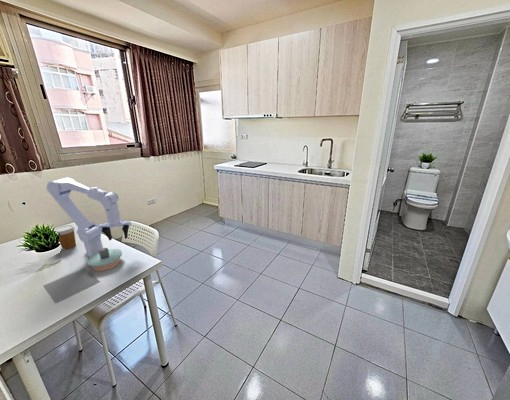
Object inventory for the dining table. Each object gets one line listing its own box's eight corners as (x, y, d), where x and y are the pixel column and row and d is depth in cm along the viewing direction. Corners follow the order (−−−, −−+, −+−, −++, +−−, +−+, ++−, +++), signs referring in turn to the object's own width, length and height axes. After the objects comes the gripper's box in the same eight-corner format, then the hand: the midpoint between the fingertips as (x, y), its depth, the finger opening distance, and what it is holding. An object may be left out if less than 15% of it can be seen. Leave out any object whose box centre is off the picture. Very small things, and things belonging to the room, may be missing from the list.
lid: (82, 259, 113) (80, 251, 111) (114, 246, 124) (112, 239, 123) (94, 270, 104) (91, 262, 103) (127, 255, 116) (125, 248, 114)
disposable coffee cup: (55, 248, 130) (49, 230, 127) (73, 241, 139) (68, 223, 135) (64, 252, 127) (58, 233, 123) (82, 244, 135) (77, 226, 131)
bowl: (89, 265, 114) (87, 259, 113) (114, 255, 123) (112, 248, 122) (98, 274, 108) (96, 267, 106) (124, 262, 117) (123, 256, 115)
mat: (43, 286, 100) (43, 285, 100) (85, 268, 112) (85, 267, 112) (56, 304, 90) (55, 303, 90) (100, 282, 102) (100, 281, 102)
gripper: (94, 220, 111) (100, 244, 116) (126, 217, 114) (131, 240, 119) (99, 214, 118) (105, 237, 122) (130, 212, 121) (134, 234, 125)
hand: (118, 238), depth 121 cm, fingers open, 7 cm apart
